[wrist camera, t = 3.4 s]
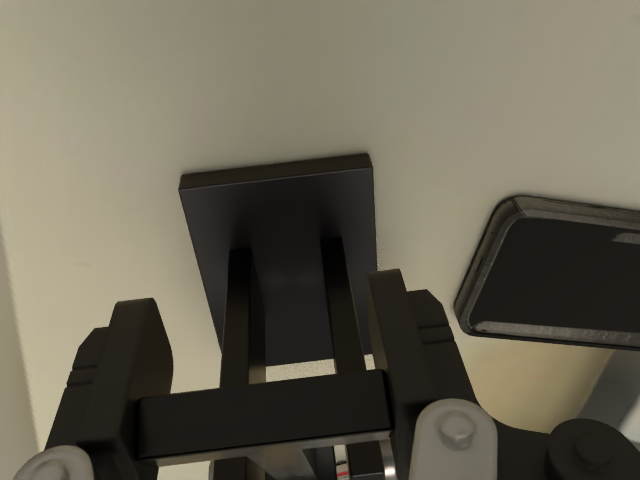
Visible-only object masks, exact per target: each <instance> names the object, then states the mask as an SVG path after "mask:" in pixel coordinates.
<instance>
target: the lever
mask: <svg viewBox="0 0 640 480" xmlns="http://www.w3.org/2000/svg"><path fill="white" fill-rule="evenodd" d="M393 430H394V419H393V413H392V407H391V400H390V394H389V388H388V382H387V375H386V372H385V370H384V369H373V370H365V371H356V372H348V373H340V374H331V375H323V376H315V377H306V378H298V379H290V380H281V381H273V382H265V383H256V384H248V385H240V386H231V387H223V388H215V389H206V390H198V391H190V392H181V393H173V394H165V395H156V396H148V397H141V398H139V399H138V400H137V403H136V446H135V457H136V460H137V461H139V462H142V463H145V464H148V465H151V466H154V467H161V466H169V465H178V464H186V463H194V462H202V461H211V460H219V459H227V458H235V457H244V456H247V457H248V458H250V459H251V460H252V461H254V462H255V463H256V464H257V465H259V466H260V467H261V468H262V469H264V470H265V480H338V477H337V468H336V460H335V451H334V445H342V444H351V443H359V442H367V441H375V440H384V439H388V438H390V437H391V434H392V432H393Z"/></svg>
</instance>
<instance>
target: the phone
mask: <svg viewBox="0 0 640 480" xmlns="http://www.w3.org/2000/svg"><path fill="white" fill-rule="evenodd" d="M454 312H455V315H456V318H457V320H458V323H459V325H460V328H461V329H462V331H463V332H464V333H466V334H468V335H471V336H476V337H487V338H498V339H509V340H520V341H531V342H542V343H553V344H564V345H575V346H586V347H597V348H608V349H619V350H630V351H640V212H636V211H629V210H621V209H614V208H607V207H599V206H592V205H585V204H577V203H570V202H563V201H555V200H548V199H540V198H533V197H515V198H511V199H509V200H507V201H505V202H503V203H502V204H501V205H500V206H499V207H498V208H497V209H496V210H495V212H494V214H493V215H492V218H491V220H490V222H489V225H488V227H487V229H486V232H485V234H484V236H483V239H482V241H481V243H480V246H479V248H478V250H477V253H476V255H475V257H474V260H473V262H472V264H471V267H470V269H469V271H468V274H467V276H466V278H465V281H464V283H463V285H462V288H461V290H460V292H459V295H458V297H457V300H456V302H455V305H454Z"/></svg>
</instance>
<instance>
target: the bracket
mask: <svg viewBox="0 0 640 480" xmlns="http://www.w3.org/2000/svg"><path fill="white" fill-rule="evenodd" d="M178 191H179V195H180V198H181V202H182V206H183V210H184V213H185V217H186V221H187V225H188V229H189V232H190V236H191V240H192V244H193V247H194V251H195V255H196V259H197V263H198V266H199V270H200V274H201V278H202V281H203V285H204V289H205V293H206V297H207V300H208V304H209V308H210V312H211V315H212V319H213V323H214V327H215V331H216V334H217V338H218V342H219V346H220V349H221V353H222V358H221V372H220V386H219V388H223V387H231V386H240V385H248V384H256V383H265V382H266V367H268V366H276V365H285V364H293V363H301V362H310V361H318V360H326V359H334V366H335V374H340V373H348V372H356V371H365V370H366V365H365V359H364V355H368V354H372V348H371V342H370V334H369V324H368V307H367V290H366V273H367V272H375V271H377V251H376V227H375V203H374V179H373V166H372V162H371V159H370V156H369V154H360V155H351V156H343V157H334V158H326V159H317V160H308V161H300V162H291V163H283V164H274V165H265V166H257V167H248V168H240V169H231V170H222V171H214V172H205V173H197V174H188V175H182V176H181V179H180V184H179V189H178ZM345 452H346V460H347V467H348V475H349V480H397V475H396V468H395V463H394V458H393V453H392V448H391V443H390V439H389V438H388V439H384V440H375V441H367V442H359V443H351V444H345ZM209 480H265V470H264V469H262V468H261V467H260V466H259V465H257V464H256V463H255V462H254V461H252V460H251V459H250V458H248V457H247V456H244V457H235V458H227V459H219V460H211V462H210V465H209Z"/></svg>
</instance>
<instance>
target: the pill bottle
mask: <svg viewBox="0 0 640 480" xmlns="http://www.w3.org/2000/svg"><path fill="white" fill-rule="evenodd" d="M336 468H337V477H338V480H349V475H348V467H347V463H346V464H342V465H339V466H336ZM397 480H398V479H397Z"/></svg>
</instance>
